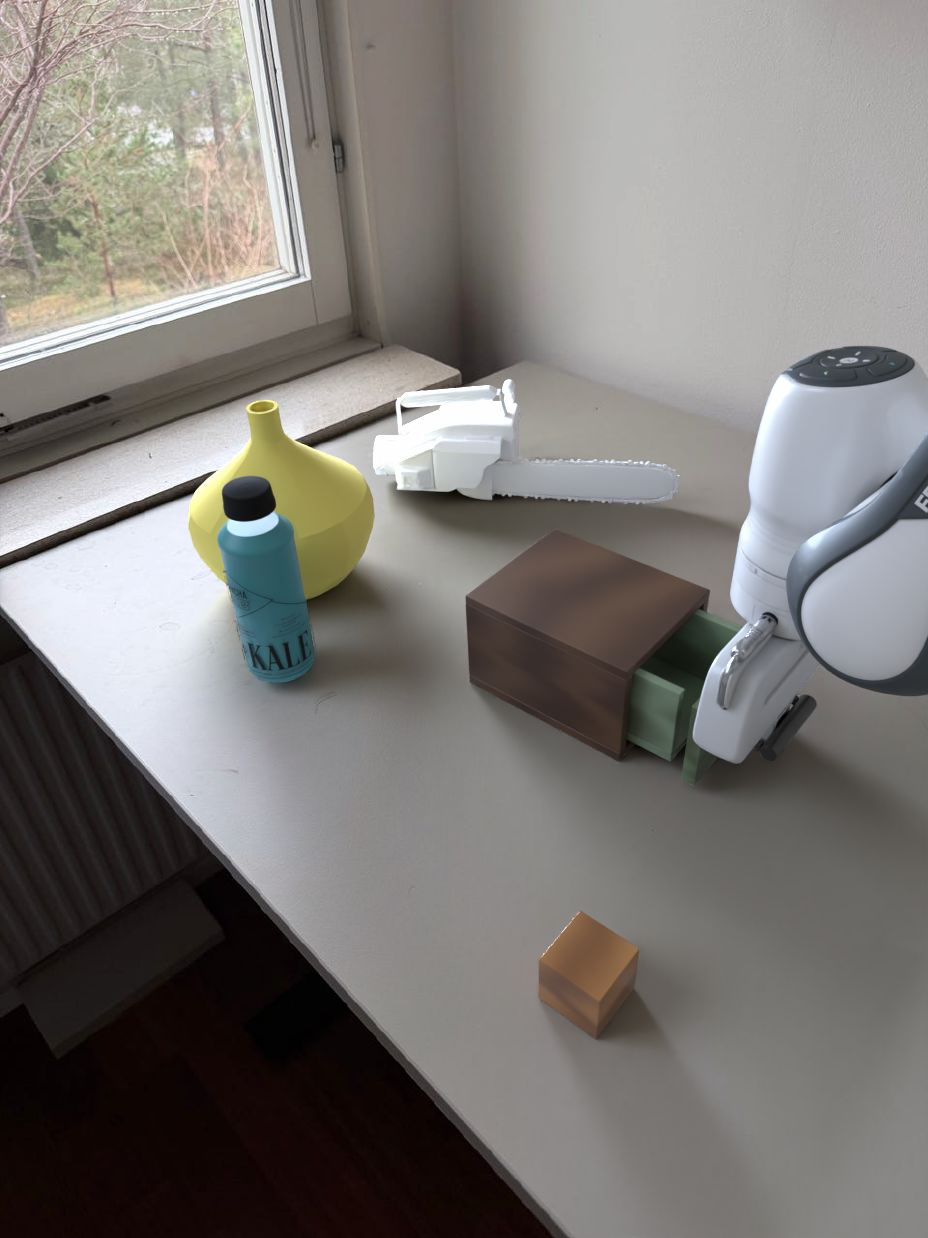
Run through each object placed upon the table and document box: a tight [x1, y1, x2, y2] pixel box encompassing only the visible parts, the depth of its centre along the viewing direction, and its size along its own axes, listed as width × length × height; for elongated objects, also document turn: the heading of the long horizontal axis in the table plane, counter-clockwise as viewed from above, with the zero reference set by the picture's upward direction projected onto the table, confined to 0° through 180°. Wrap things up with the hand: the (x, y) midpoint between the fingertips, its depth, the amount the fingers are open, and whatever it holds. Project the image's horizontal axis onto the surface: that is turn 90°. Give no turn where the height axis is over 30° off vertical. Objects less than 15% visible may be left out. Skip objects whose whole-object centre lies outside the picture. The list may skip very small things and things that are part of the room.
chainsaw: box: [372, 379, 681, 505], centre depth 108 cm, size 15×35×12 cm, turn 82°
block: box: [537, 910, 641, 1040], centre depth 59 cm, size 4×4×4 cm
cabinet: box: [464, 527, 711, 762], centre depth 81 cm, size 16×13×10 cm
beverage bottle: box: [217, 476, 318, 684], centre depth 80 cm, size 6×7×20 cm
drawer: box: [626, 609, 818, 787], centre depth 76 cm, size 20×12×8 cm, turn 50°
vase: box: [187, 399, 376, 601], centre depth 92 cm, size 18×18×19 cm
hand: (767, 726), depth 72 cm, fingers closed, pressing on drawer
